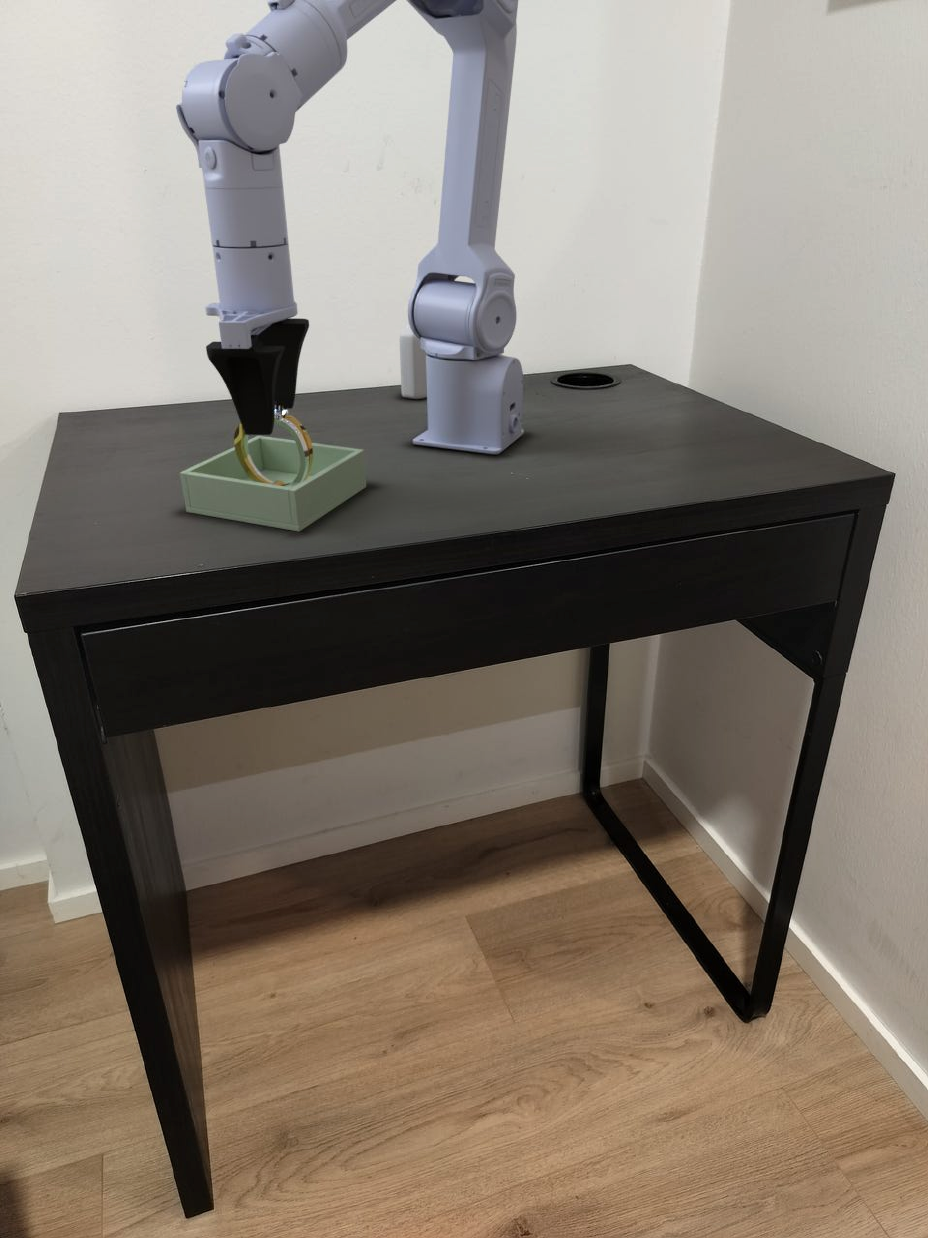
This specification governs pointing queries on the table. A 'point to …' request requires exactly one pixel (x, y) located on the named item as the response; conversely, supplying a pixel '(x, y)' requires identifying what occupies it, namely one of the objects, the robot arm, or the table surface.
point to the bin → (239, 498)
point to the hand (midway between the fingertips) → (270, 420)
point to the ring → (299, 436)
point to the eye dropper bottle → (412, 366)
